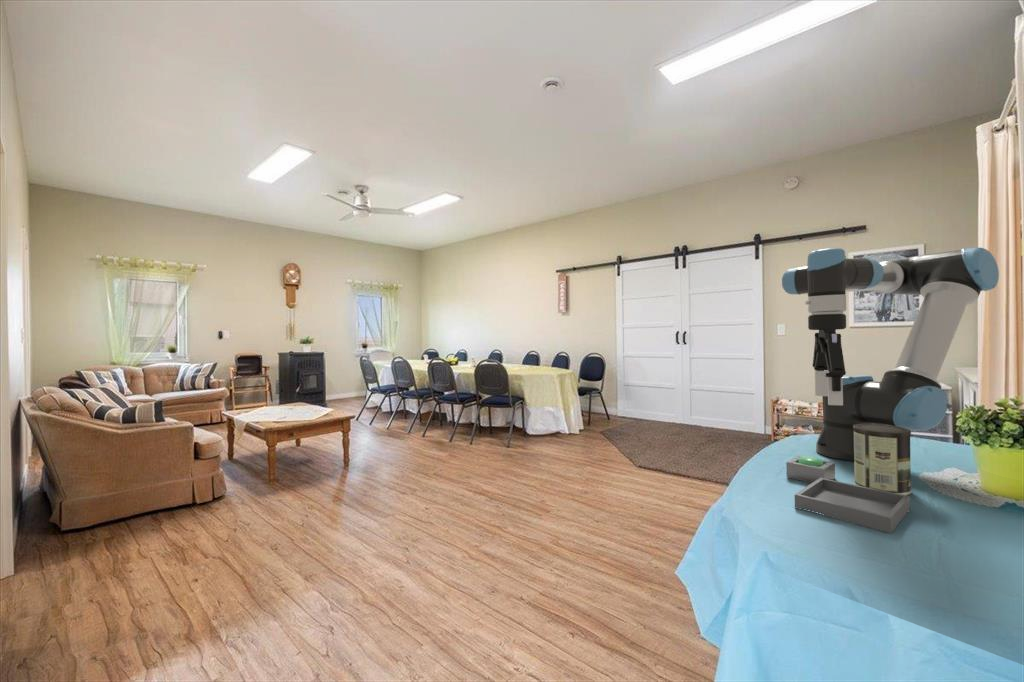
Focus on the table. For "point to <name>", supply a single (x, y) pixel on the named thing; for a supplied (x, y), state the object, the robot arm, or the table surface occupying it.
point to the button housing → (809, 470)
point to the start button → (811, 461)
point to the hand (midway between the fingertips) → (828, 400)
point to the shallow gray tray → (854, 504)
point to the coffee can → (882, 457)
